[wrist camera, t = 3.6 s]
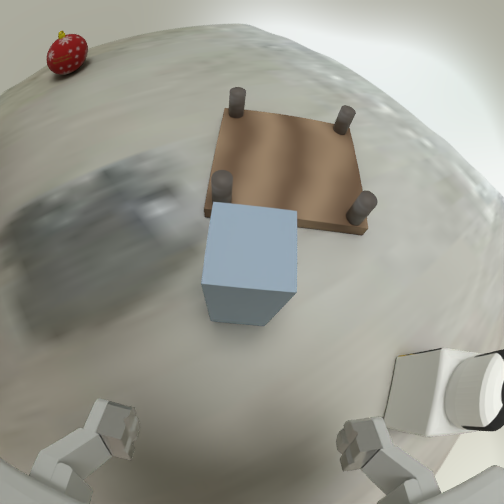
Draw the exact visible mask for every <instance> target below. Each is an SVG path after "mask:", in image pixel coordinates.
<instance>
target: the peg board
mask: <svg viewBox="0 0 504 504" xmlns="http://www.w3.org/2000/svg"><path fill="white" fill-rule="evenodd" d="M245 96H246V90H245V89H243V88H240V87H235V88H232V89H231V90H230V97H229V108H225V109H224V114H223V118H222V122H221V127H220V131H219V136H218V141H217V145H216V150H215V155H214V160H213V165H212V170H211V175H210V180H209V185H208V190H207V196H206V201H205V207H204V213H205V217H210V218H211V212H212V206H213V202H221V203H231V204H241V205H250V206H259V207H268V208H276V209H284V210H292V211H297V227H302V228H311V229H319V230H326V231H334V232H342V233H349V234H356V235H363V234H364V233H365V232H366V230H367V229H368V223H367V216H368V215H369V213H370V212H371V211H372V210H373V209H374V208H375V206H376V205H377V198H376V196H375V195H374V194H373V193H371V192H370V191H362V185H361V180H360V174H359V169H358V164H357V159H356V155H355V150H354V145H353V141H352V137H351V133H350V128H349V126H350V124H351V122H352V120H353V118H354V116H355V113H356V112H355V110H354V109H353V108H351V107H350V106H346V105H344V106H342V107H341V110H340V112H339V115H338V117H337V119H336V122H335V124H331V123H326V122H321V121H316V120H311V119H306V118H300V117H294V116H288V115H281V114H275V113H267V112H259V111H251V110H244V105H245Z"/></svg>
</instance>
